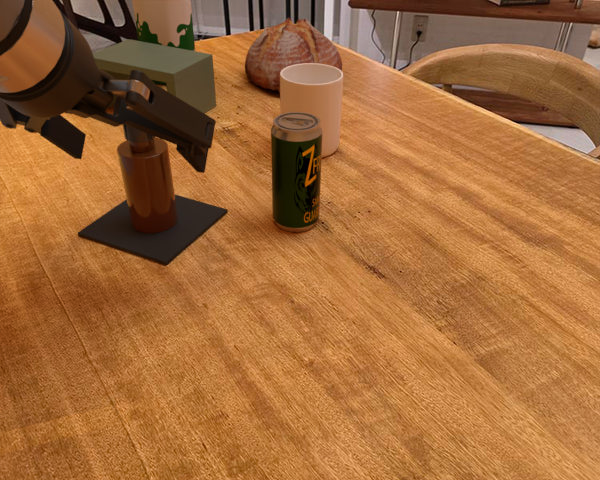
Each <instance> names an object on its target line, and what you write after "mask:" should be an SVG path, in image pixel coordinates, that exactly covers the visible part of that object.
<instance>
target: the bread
mask: <svg viewBox="0 0 600 480" xmlns="http://www.w3.org/2000/svg"><path fill="white" fill-rule="evenodd" d="M342 61H343V60H342V57H341V55H340V52H339V50H338V48H337V46H336V45H335V43H333V41H331V40H330V39H329V38H328V36H326V35H324V34H323V33H322V32H321V31H319V30H318V29H317V28H316V27H314V26H313V25H312V24H311V22H310V21H309V20H308V19H307V18H306V17H305V18H304V19H302V18H299V19H297V20H296V23H294V22H293V20H292V18H291V17H289V16H288V17H287V18H286V19H285V20H284V21H283V22H281V23H278V24H277V25H272V26H271V27H270V28H265V29H264V30H263V31H262V32H261V34H260V35H259V36H257V38H256V39H255V40H254V41H253V42H252V43H251V45H250V46H249V48H248V51H247V53H246V56H245V61H244V72H245V74H246V76H247V78H248V79H249V80H250V81H251V83H253V84H254V85H256V86H259V87H261V88H264V89H266V90H267V89H270V91H274V92H278V93H279V94H280V72H281V71H282V69H284V68H286V67H288V66H291V65H295V64H303V63H317V64H325V65H330V66H333V67H336V68H338V69H340V70H341V71H342V72H343V62H342Z"/></svg>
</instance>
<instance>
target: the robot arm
mask: <svg viewBox="0 0 600 480" xmlns="http://www.w3.org/2000/svg"><path fill="white" fill-rule="evenodd" d="M93 53H94V52H93V50H92V49H91V45H90V44H89V42H88V40H87V39H86V37H85V36H84V35H83V33H82V32H80V31H79V30H78V28H77V27H76V26H75V25H74V24H73V23H72V22H71V20H70V19H69V18H68V17H67V16H66V15H65V14H64V12H62V10H60V9H59V7H58V6H57V5H56V3H55V2H54V1H53V0H0V123H1V125H2V126H3V127H5V128H7V129H12V130H15V129H17V126H18V125H19V126H23V129H24V131H26V132H28V133H30V134H39V135H40V136H41V138H43V139H45V140H47V141H48V142H49V143H51V144H53V145H54V146H55V147H57V148H58V149H59V150H61V151H63V152H64V153H66V154H67V155H68V156H70V157H72V158H73V159H76V160H82V159H83V154H84V153H83V152H84V148H85V142H86V136H87V134H86V133H85V132H83V131H82V130H81V129H80V128H78V127H77V126H75V125H74V124H73V123H72V122H70V121H69V120H68V119H67V118H66V117H64V116H63V115H62V114H69V115H75V116H78V117H80V118H83V119H87V118H89V119H93V120H96V121H98V122H102V123H103V124H105V125H108V126H111V127H120V126H122V124H125V125H127V126H130V127H132V128H135V129H137V130H140V131H143V132H145V133H148V134H150V135H153V136H155V138H159V139H162V140H164V141H165V142H167V143H170V144H174V145H176V148H175V150H176V151H177V153H178V154H179V155H181V157H182V158H183V159H184V160H185V161H186V162H187V163H188V164H189V165H190V166H191V167H192V168H193V169H194V170H195V171H196V173H201V174H205V171H206V167H207V161H208V154H209V149H212V146H213V139H214V134H215V128H216V122H217V121H216V120H215V119H214V118H213V117H211V116H209V115H207V114H206V113H202V112H201V111H199V110H197V109H196V108H194V107H192V106H191V105H189V104H187V103H186V102H184V101H182V100H181V99H179V98H177V97H176V96H174V95H172V94H171V93H169V92H167V89H164V88H162V87H161V86H159V85H158V84H155V83H154V82H153V81H152V80H151V79H150V78H149V77H148V76H147V75H146V74H144V73H143V72H141V71H138V70H131V71H130V75H129V80H117V79H115V78H113V77H112V76H111V75H110V74H108V73H106V72H104V71H103V70H101V69H100V68H98V67H97V64H96V62H95V59H94V56H93ZM113 96H114V97H116V98H115V104H114V105H113V109H112V113H109V112H107V111H108V109H109V108H110V107H109V106H110V104H111V103H112V101H113V99H114V97H113Z"/></svg>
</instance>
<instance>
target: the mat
mask: <svg viewBox="0 0 600 480" xmlns="http://www.w3.org/2000/svg"><path fill="white" fill-rule="evenodd" d="M175 201H176V208H177V215H178V221H177V223H176V224H175V225H174V226H173V227H172V228H170V229H168V230H166V231H163V232H158V233H144V232H140V231H137V230H136V229H134V228H133V226H132V224H131V219H130V214H129V209H128V204H127V198H126V199H125V200H123V201H122V202H120V203H119V204H117V205H116V206H114V207H113V208H111V209H110V210H109V211H107V212H105V213H104V214H103V215H101V216H100V217H98V218H96V219H95V220H94V221H92V222H91V223H90V224H88V225H86V226H85V227H84V228H82V229H81V230H79V231H78V232H77V236H79V237H81V238H84V239H87V240H90V241H93V242H96V243H99V244H101V245H105V246H108V247H111V248H113V249H117V250H120V251H123V252H126V253H129V254H132V255H135V256H137V257H141V258H144V259H147V260H149V261H152V262H154V263H155V262H156V263H159V264H162V265H164V266H168V265H169V264H170V263H171V262H172V261H173V260H174V259H176V258H177V257H178V256H179V255H180V254H182V252H184V250H186V249H187V248H188V247H190V245H192V244H193V243H194V242H195V241H196V240H197V239H199V237H201V236H202V235H203V234H204V233H205V232H206V231H208V230H209V229H210V228H211V227H212V226H214V225H215V224H216V223H217V222H218V221H219V220H220V219H222V218H223V217H224V216H225V215H226V214H228V213H229V211H228V209H227V208H224V207H221V206H217V205H214V204H210V203H206V202H204V201H200V200H196V199H193V198H189V197H186V196H182V195H178V194H175Z"/></svg>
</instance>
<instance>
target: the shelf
mask: <svg viewBox="0 0 600 480" xmlns="http://www.w3.org/2000/svg"><path fill="white" fill-rule="evenodd" d="M92 53H93V56H94V59H95V62H96V64H97V67H98V68H100V69H101V70H103V71H104V72H106V73H108V74H110V75H111V76H112V77H113V78H115V79H117V80H129V75H130V71H131V70H138V71H141V72H143V73H144V74H146V75H147V76H148V77H149V78H150V79H151V80H156V81H160V82H165V83H166V91H167V92H169V93H171V94H172V95H174V96H176V97H177V98H179V99H181V100H182V101H184V102H186V103H187V104H189V105H191V106H192V107H194V108H196V109H197V110H199V111H201V112H202V113H204V114H206V113H207V112H208V111H210V110H212V109H214V108H216V106H217V95H216V82H215V72H214V71H215V70H214V69H215V68H214V57H213V54H212V53H207V52H201V51H196V50H195V51H191V50H186V49H180V48H175V47H169V46H164V45H158V44H153V43H147V42H142V41H138V40H136V39H130V38H128V39H125V40H123V41H121V42H118V43H116V44H113V45H111V46H109V47H106V48H103V49H101V50H98V51H95V52H92ZM113 97H114V96H113ZM115 98H116V97H114V99H113V101H112V103H111V104H110V106H109V108H111V107H114V104H115Z"/></svg>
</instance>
